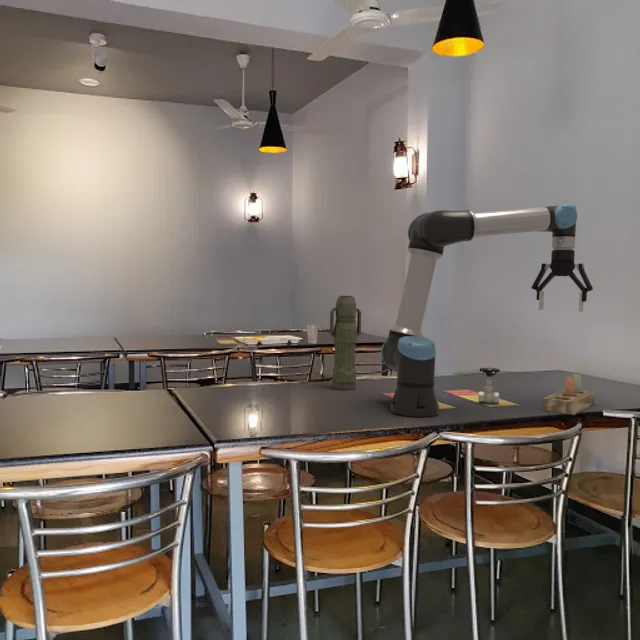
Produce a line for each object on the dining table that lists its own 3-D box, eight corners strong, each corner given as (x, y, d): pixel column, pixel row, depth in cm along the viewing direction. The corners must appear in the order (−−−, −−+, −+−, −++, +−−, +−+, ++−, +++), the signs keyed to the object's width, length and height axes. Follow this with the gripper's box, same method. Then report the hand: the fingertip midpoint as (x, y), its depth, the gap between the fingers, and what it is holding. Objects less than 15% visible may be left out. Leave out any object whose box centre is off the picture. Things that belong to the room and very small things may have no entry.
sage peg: (570, 403, 220) (571, 374, 219) (572, 402, 222) (573, 373, 222) (579, 404, 218) (580, 375, 217) (581, 403, 220) (582, 374, 220)
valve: (499, 406, 213) (500, 370, 212) (478, 405, 215) (480, 369, 214) (497, 402, 220) (499, 368, 219) (478, 401, 221) (479, 367, 220)
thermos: (363, 389, 239) (365, 296, 237) (334, 391, 235) (336, 296, 232) (353, 385, 247) (355, 295, 245) (325, 387, 243) (327, 295, 240)
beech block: (542, 410, 207) (542, 398, 207) (564, 399, 226) (564, 388, 226) (574, 414, 201) (574, 402, 201) (594, 403, 220) (594, 392, 220)
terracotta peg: (565, 405, 216) (567, 376, 215) (574, 406, 214) (576, 377, 213) (562, 407, 214) (564, 377, 213) (571, 408, 212) (573, 378, 211)
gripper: (523, 249, 226) (521, 309, 227) (598, 248, 211) (595, 312, 212) (531, 250, 232) (528, 308, 233) (604, 249, 217) (601, 311, 218)
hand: (560, 310), depth 223 cm, fingers open, 13 cm apart
